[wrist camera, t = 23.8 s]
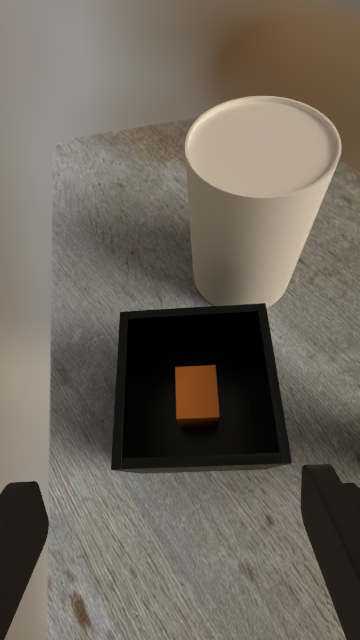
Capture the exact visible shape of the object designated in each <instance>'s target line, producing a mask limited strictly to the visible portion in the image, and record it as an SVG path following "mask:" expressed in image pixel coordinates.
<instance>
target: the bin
mask: <svg viewBox="0 0 360 640" xmlns="http://www.w3.org/2000/svg"><path fill="white" fill-rule="evenodd" d="M206 365H216V376H217V389H218V401H219V414H220V418H219V423H218V428H217V430H195V431H182V429H181V427H180V425H179V423H178V421H177V419H176V388H175V367H186V366H206ZM291 463H292V460H291V454H290V448H289V442H288V436H287V430H286V424H285V418H284V412H283V406H282V400H281V394H280V388H279V382H278V376H277V370H276V364H275V358H274V352H273V346H272V340H271V334H270V328H269V322H268V315H267V309H266V304H265V303H259V304H243V305H226V306H210V307H194V308H177V309H161V310H145V311H129V312H120V325H119V342H118V359H117V376H116V393H115V410H114V427H113V444H112V462H111V470H117V471H125V472H133V473H141V474H142V473H171V472H200V471H229V470H258V469H268V468H273V467H277V466H282V465H287V464H291Z"/></svg>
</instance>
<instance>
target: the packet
mask: <svg viewBox="0 0 360 640" xmlns="http://www.w3.org/2000/svg"><path fill="white" fill-rule="evenodd" d="M175 388H176V419H177V421H178V423H179V425H180V427H181V429H182V431H195V430H217V428H218V423H219V418H220V414H219V401H218V389H217V376H216V365H206V366H186V367H175Z"/></svg>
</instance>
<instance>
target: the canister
mask: <svg viewBox="0 0 360 640" xmlns="http://www.w3.org/2000/svg"><path fill="white" fill-rule="evenodd" d="M340 155H341V139H340V136H339V133H338V131H337V129H336V128H335V126H334V125H333V123H332V122H331V121H330V120H329V119H328V118H327V117H326V116H324V115H323V114H322V113H321V112H319V111H318V110H316V109H314V108H313V107H311V106H309V105H306V104H304V103H301V102H298V101H295V100H292V99H287V98H282V97H275V96H251V97H243V98H238V99H234V100H230V101H227V102H224V103H222V104H219V105H217V106H215V107H213V108H211V109H210V110H208V111H207V112H205V113H204V114H202V115H201V116H200V117H199V118H198V119H197V120H196V121H195V122H194V123H193V125H192V126H191V128H190V129H189V131H188V134H187V136H186V140H185V157H186V172H187V187H188V202H189V217H190V231H191V246H192V261H193V276H194V281H195V284H196V287H197V289H198V290H199V292H200V293H201V295H202V296H203V297H204V298H205V299H206V300H207V301H208V302H209V303H211V304H212V305H214V306H226V305H243V304H259V303H265V304H266V308H268V307H269V306H271V305H273V304H274V303H275V302H276V301H278V300H279V299H280V298H281V296H282V295H283V294H284V292H285V290H286V288H287V286H288V283H289V281H290V278H291V276H292V274H293V271H294V269H295V266H296V264H297V261H298V259H299V256H300V254H301V252H302V249H303V247H304V244H305V242H306V239H307V237H308V234H309V232H310V230H311V227H312V225H313V222H314V220H315V217H316V215H317V213H318V210H319V208H320V205H321V203H322V200H323V198H324V195H325V193H326V191H327V188H328V186H329V183H330V181H331V178H332V176H333V173H334V171H335V169H336V166H337V164H338V161H339V158H340Z"/></svg>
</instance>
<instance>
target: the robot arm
mask: <svg viewBox="0 0 360 640" xmlns="http://www.w3.org/2000/svg"><path fill="white" fill-rule="evenodd" d="M301 513H302V518H303V523H304V526H305V529H306V532H307V535H308V537H309V540H310V543H311V545H312V548H313V551H314V553H315V556H316V559H317V562H318V564H319V567H320V570H321V572H322V575H323V578H324V580H325V583H326V586H327V588H328V591H329V594H330V596H331V599H332V602H333V605H334V607H335V610H336V613H337V615H338V618H339V621H340V623H341V626H342V629H343V631H344V634H345V637H346V639H347V640H360V488H359V487H358V486H357V485H355V484H354V483H342V482H341V481H340V479H339V477H338V475H337V474H336V472H335V470H334V468H333V467H332V466H331V465H330V464H320V465H304V466H303V468H302V485H301ZM48 526H49V522H48V516H47V513H46V509H45V506H44V502H43V499H42V495H41V492H40V488H39V485H38V483H37V482H34V481H33V482H16V483H9V484H8V485H7V486H6V487H5V488H4V490H3V491H2V493H1V494H0V640H4V639H5V636H6V634H7V632H8V629H9V627H10V625H11V622H12V620H13V617H14V615H15V613H16V610H17V608H18V606H19V603H20V601H21V599H22V596H23V594H24V591H25V589H26V587H27V584H28V582H29V580H30V577H31V575H32V573H33V570H34V568H35V565H36V563H37V561H38V558H39V556H40V554H41V551H42V549H43V546H44V544H45V542H46V538H47V534H48Z"/></svg>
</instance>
